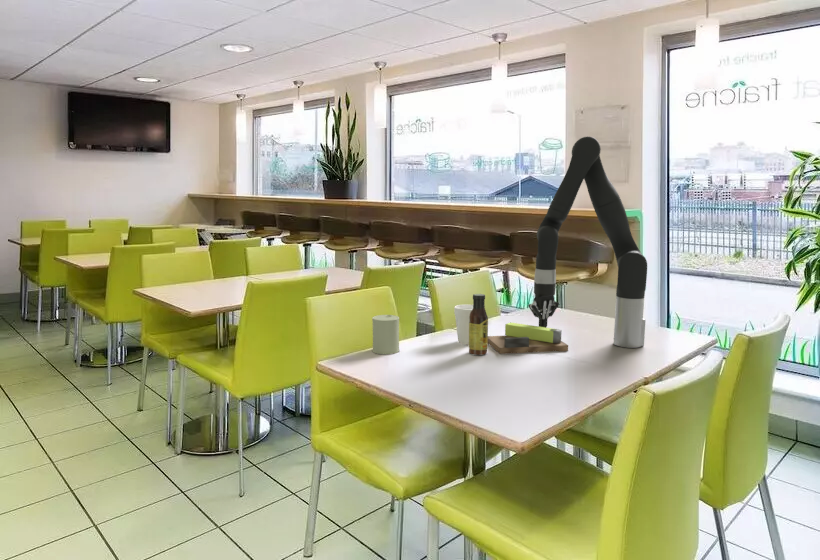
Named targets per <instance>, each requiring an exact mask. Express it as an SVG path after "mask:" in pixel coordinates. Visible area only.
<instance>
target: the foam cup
mask: <svg viewBox="0 0 820 560" xmlns="http://www.w3.org/2000/svg"><path fill="white" fill-rule="evenodd" d="M472 309H473V304H457V305H455V306H454V311H453V314H454V317H455V324H456V326H455V327H456V334H457V342H458V344H460V345H462V346H463V345H465V346H469V322H470V317H469V316H470V313H471V311H472Z"/></svg>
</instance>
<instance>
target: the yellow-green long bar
mask: <svg viewBox="0 0 820 560" xmlns="http://www.w3.org/2000/svg"><path fill="white" fill-rule="evenodd" d="M504 326H505V327H504V328H505V329H504V331H505V332H504V336H513V337H528V338H529V339H532V340H538V341H544V342H551V343H561V341H562V329H559V328H553V327H552V328H551V327H539V325H537V326H536V325H531V324H524V323H517V322H510V321H509V322H508V323H506V324H505V325H504Z"/></svg>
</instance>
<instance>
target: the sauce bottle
mask: <svg viewBox="0 0 820 560" xmlns="http://www.w3.org/2000/svg"><path fill="white" fill-rule="evenodd" d="M472 300H473V302H472V305H473V309H472V311H471V313H470V316H469V317H470V322H469V345H468V352H469V354H471V355H473V356H475V355H476V356H483V355H484V356H485V355H486V354H487V352H488V345H489V344H488V336H489V335H488V334H489V317H488V314H487V312H486V305H485V300H486V294H482V293H475V294H472Z"/></svg>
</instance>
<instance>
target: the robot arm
mask: <svg viewBox="0 0 820 560" xmlns="http://www.w3.org/2000/svg"><path fill="white" fill-rule="evenodd" d="M601 151H602V149H601V145H600V142H599V140H598V139H596V138H595V137H593V136H583V137H581V138H579V139H578V140H577V141H576V142H575V143H574V144H573V146H572V148H571V157H570V161H569V164H568V168H567V169H566V173H565V175H564V177H563V179H562V181H561V182H560V185H559V187H558V188H557V190H556V192H555V194H554V196H553V198H552V200H551V203H550V205H549V207H548V209H547V212H546V214H545V215H544V218H543V220H542V221H541V223H540V225H539V226H538V229H537V232H536V238H537V254H536V258H535V270H534V278H533V279H534V281H533V294H534V298H533V302H532V303H528V308H529V309H530V311H531V312H532V313H531V314H533V316H534V317H535V318H538V326H539V327H546V328H548V319H549V318H550V317H552V316H553V315H554V314H555V312H556V310H557V308H558V307H559V305H560V303H559V302H558V301H556V300H555V295H556V287H557V286H556V284H557V272H556V269H557V268H556V267H557V252H558V247H559V246H558V245H559V231H560V229H561V227H562V225H563V223H564V222H566V219H567V218H568V216H569V213H570V212H571V210H572V208H573V206H574V205H573V204H574V202H575V200H576V198H577V195H578V194H579V193H578V192H579V190H580V188H581V185H582V183H583V181H585V185H586V188H587V192H588V195H589V198H590V202H591V204H592V207H593V210H594V213H595V215H596V217H597V219H598V221H599V223H600V225H601V227H602V229H603V231H604V233H605V234H606V236H607V237H608V239H609V241H610V244H611V246H612V249H613V253H614V257H615V260H616V263H617V264H616V265H617V281H616V282H617V285H616V290H615V293H616V294H615V307H614V308H615V310H614V314H615V315H614V327H613V328H614V329H613V345H615V346H618V347H622V348H629V349H632V348H633V349H635V348H641V347H644V346H645V336H646V335H645V334H646V319H645V318H644V309H645V296H646V295H645V294H646V290H647V280H648V279H647V278H648V261H647V259H646V257H645V256H644V255H643V254H642V252H641V251H640V248H639V246H638V245H637V243H636V241H635V239H634V237H633V235H632V232H631V227H630V224H629V220H628V216H627V211H626V209H625V206H624V204H623V201H622V199H621V196H620V194H619V193H618V191H617V189H616V187H615V186H614V184H613V183H612V181H611V179H610V178H609V177H608V175H607V173H606V170H605V168H604V165H603V163H602V159H601V155H600V154H601Z"/></svg>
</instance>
